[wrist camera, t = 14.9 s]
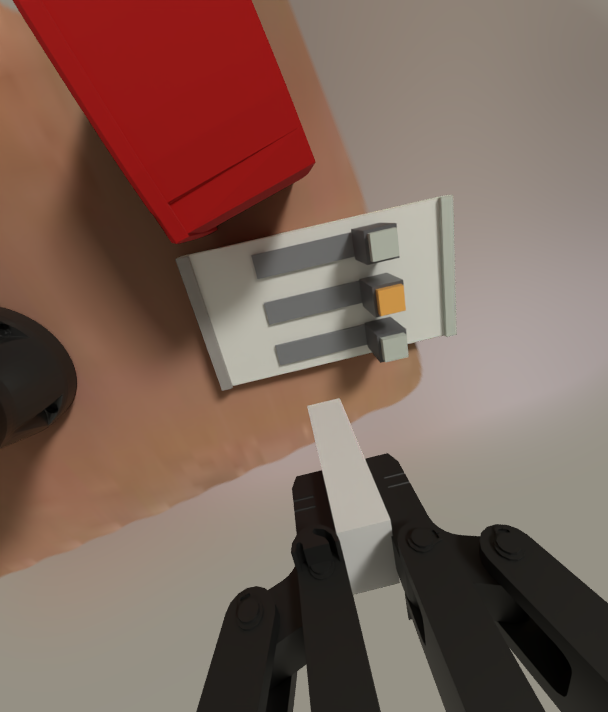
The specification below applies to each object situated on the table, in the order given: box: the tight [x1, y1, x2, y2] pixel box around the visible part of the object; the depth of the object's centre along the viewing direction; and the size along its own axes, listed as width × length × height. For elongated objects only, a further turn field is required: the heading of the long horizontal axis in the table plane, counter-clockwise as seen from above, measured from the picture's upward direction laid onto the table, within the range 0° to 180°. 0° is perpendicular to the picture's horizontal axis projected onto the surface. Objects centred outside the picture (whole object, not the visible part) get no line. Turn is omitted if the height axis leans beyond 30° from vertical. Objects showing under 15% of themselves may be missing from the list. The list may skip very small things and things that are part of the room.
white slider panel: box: [175, 195, 456, 391], centre depth 34 cm, size 28×15×8 cm, turn 102°
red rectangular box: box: [13, 0, 315, 244], centre depth 24 cm, size 16×11×15 cm
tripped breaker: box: [359, 273, 406, 317], centre depth 33 cm, size 3×3×5 cm
